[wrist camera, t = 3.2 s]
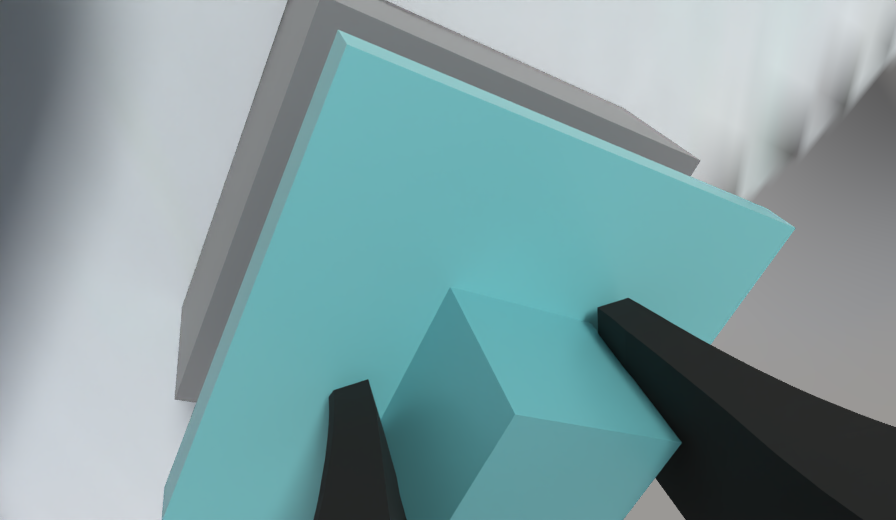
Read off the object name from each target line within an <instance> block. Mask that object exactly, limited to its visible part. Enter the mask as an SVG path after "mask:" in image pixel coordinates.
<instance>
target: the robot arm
mask: <svg viewBox="0 0 896 520" xmlns="http://www.w3.org/2000/svg"><path fill="white" fill-rule="evenodd" d="M597 313H598V334H599V336H600V337H601V338H602V340H603V341H604V342H605V344H606V345H607V346H608V347H609V349H610V350H611V351H612V353H613V354H614V355H615V357H616V358H617V359H618V361H619V362H620V363H621V365H622V366H623V367H624V369H625V370H626V371H627V372H628V373H629V374H630V376H631V377H632V378H633V379H634V380H635V382H636V383H637V384H638V386H639V387H640V388H641V389H642V391H643V392H644V393H645V395H646V396H647V397H648V399H649V400H650V401H651V403H652V404H653V405H654V407H655V408H656V409H657V411H658V412H659V413H660V414H661V416H662V417H663V418H664V420H665V421H666V422H667V424H668V425H669V426H670V428H671V429H672V430H673V432H674V433H675V434H676V436H677V437H678V438H679V439H680V441H681V442H682V443H681V445H680V446H679V447H678V449H677V450H676V451H675V453H674V454H673V455H672V456H671V458H670V459H669V460H668V462H667V463H666V464H665V466H664V467H663V468H662V470H661V471H660V472H659V473H658V475H657V476H656V477H655V478H656V479H657V481H658V482H659V484H660V485H661V486H662V488H663V489H664V490H665V492H666V493H667V495H668V496H669V497H670V499H671V500H672V501H673V503H674V504H675V505H676V507H677V508H678V510H679V511H680V513H681V514H682V515H683V517H684V518H685V519H686V520H896V427H894V426H891V425H888V424H885V423H882V422H879V421H876V420H874V419H871V418H868V417H865V416H863V415H860V414H858V413H855V412H853V411H850V410H848V409H845V408H843V407H840V406H837V405H835V404H833V403H830V402H828V401H825V400H823V399H820V398H818V397H816V396H813V395H811V394H809V393H806V392H804V391H802V390H800V389H797V388H795V387H793V386H791V385H789V384H787V383H785V382H782V381H780V380H778V379H776V378H774V377H772V376H770V375H768V374H766V373H764V372H762V371H760V370H758V369H755V368H754V367H752V366H750V365H747V364H746V363H744V362H742V361H740V360H738V359H736V358H734V357H732V356H730V355H729V354H727V353H725V352H723V351H721V350H719V349H717V348H716V347H714V346H712V345H710V344H708V343H706V342H705V341H703V340H701V339H699V338H698V337H696V336H694V335H692V334H691V333H689V332H687V331H685V330H684V329H682V328H680V327H678V326H677V325H675V324H673V323H671V322H670V321H668V320H666V319H665V318H663V317H661V316H659V315H658V314H656V313H654V312H653V311H651V310H649V309H647V308H646V307H644V306H642V305H641V304H639V303H637V302H635V301H633V300H632V299H630V298H626V299H622V300H619V301H616V302H613V303H610V304H606V305H603V306H600V307H597ZM313 520H407V519H406V515H405V512H404V508H403V504H402V501H401V497H400V493H399V487H398V481H397V476H396V472H395V469H394V465H393V462H392V458H391V455H390V451H389V447H388V444H387V440H386V437H385V433H384V430H383V426H382V423H381V420H380V416H379V413H378V410H377V407H376V403H375V400H374V397H373V393H372V390H371V387H370V383H369V380H368V379H367V380H364V381H361V382H358V383H355V384H351V385H348V386H345V387H342V388H339V389H335V390H333V392H332V393H331V394H330V396H329V425H328V437H327V446H326V454H325V462H324V467H323V473H322V479H321V485H320V491H319V497H318V502H317V507H316V511H315V515H314V519H313Z"/></svg>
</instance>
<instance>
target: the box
mask: <svg viewBox="0 0 896 520" xmlns="http://www.w3.org/2000/svg"><path fill="white" fill-rule="evenodd" d="M338 30H340V31H343V32H345V33H348V34H350V35H352V36H355V37H357V38H359V39H362V40H364V41H367V42H369V43H371V44H374V45H376V46H379V47H381V48H383V49H386V50H388V51H391V52H393V53H395V54H398V55H400V56H403V57H405V58H407V59H410V60H412V61H415V62H417V63H419V64H422V65H424V66H427V67H429V68H431V69H434V70H436V71H439V72H441V73H443V74H446V75H448V76H451V77H453V78H455V79H458V80H460V81H463V82H465V83H467V84H470V85H472V86H475V87H477V88H479V89H482V90H484V91H486V92H489V93H491V94H494V95H496V96H498V97H501V98H503V99H506V100H508V101H510V102H513V103H515V104H518V105H520V106H522V107H525V108H527V109H530V110H532V111H534V112H537V113H539V114H542V115H544V116H546V117H549V118H551V119H554V120H556V121H558V122H561V123H563V124H566V125H568V126H570V127H573V128H575V129H578V130H580V131H582V132H585V133H587V134H590V135H592V136H594V137H597V138H599V139H602V140H604V141H606V142H609V143H611V144H613V145H616V146H618V147H621V148H623V149H625V150H628V151H630V152H633V153H635V154H637V155H640V156H642V157H645V158H647V159H649V160H652V161H654V162H657V163H659V164H661V165H664V166H666V167H669V168H671V169H673V170H676V171H678V172H681V173H683V174H685V175H688V176H691V175H692V173H693V171H694V170H695V168H696V167H697V165H698V164H699V162H700V160H699V159H697V158H696V157H695V156H693V155H692V154H690V153H689V152H687V151H686V150H684V149H683V148H681V147H680V146H678V145H677V144H675V143H674V142H673V141H671V140H670V139H668V138H667V137H665V136H664V135H662V134H661V133H659V132H658V131H656V130H655V129H654V128H652V127H651V126H649V125H648V124H646V123H645V122H643V121H642V120H640V119H639V118H637V117H636V116H634V115H633V114H632V113H630V112H629V111H627V110H626V109H624V108H622V107H619V106H617V105H615V104H613V103H611V102H608V101H606V100H604V99H602V98H600V97H597V96H595V95H593V94H591V93H589V92H586V91H584V90H582V89H580V88H578V87H575V86H573V85H571V84H569V83H566V82H564V81H562V80H560V79H558V78H555V77H553V76H551V75H549V74H547V73H544V72H542V71H540V70H538V69H536V68H533V67H531V66H529V65H527V64H525V63H522V62H520V61H518V60H516V59H514V58H511V57H509V56H507V55H505V54H503V53H500V52H498V51H496V50H494V49H492V48H489V47H487V46H485V45H483V44H480V43H478V42H476V41H474V40H472V39H469V38H467V37H465V36H463V35H461V34H458V33H456V32H454V31H452V30H450V29H447V28H445V27H443V26H441V25H439V24H436V23H434V22H432V21H430V20H428V19H425V18H423V17H421V16H419V15H417V14H414V13H412V12H410V11H408V10H406V9H403V8H401V7H399V6H397V5H394V4H392V3H390V2H388V1H386V0H288V1H287V4H286V7H285V10H284V13H283V16H282V19H281V22H280V25H279V27H278V30H277V33H276V36H275V39H274V42H273V45H272V48H271V51H270V54H269V57H268V59H267V62H266V65H265V68H264V71H263V74H262V77H261V80H260V83H259V86H258V88H257V91H256V94H255V97H254V100H253V103H252V106H251V109H250V112H249V115H248V117H247V120H246V123H245V126H244V129H243V132H242V135H241V138H240V141H239V144H238V146H237V149H236V152H235V155H234V158H233V161H232V164H231V167H230V170H229V173H228V176H227V178H226V181H225V184H224V187H223V190H222V193H221V196H220V199H219V202H218V205H217V207H216V210H215V213H214V216H213V219H212V222H211V225H210V228H209V231H208V234H207V236H206V239H205V242H204V245H203V248H202V251H201V254H200V257H199V260H198V263H197V266H196V268H195V271H194V274H193V277H192V280H191V283H190V286H189V289H188V292H187V295H186V297H185V300H184V303H183V306H182V315H181V327H180V340H179V352H178V365H177V377H176V390H175V400H182V401H189V402H196V403H197V400H198V398H199V395H200V392H201V390H202V387H203V384H204V382H205V379H206V376H207V374H208V371H209V369H210V366H211V363H212V361H213V358H214V355H215V353H216V350H217V347H218V345H219V342H220V339H221V337H222V334H223V332H224V329H225V326H226V324H227V321H228V318H229V316H230V313H231V310H232V308H233V305H234V303H235V300H236V297H237V295H238V292H239V289H240V287H241V284H242V281H243V279H244V276H245V273H246V271H247V268H248V266H249V263H250V260H251V258H252V255H253V252H254V250H255V247H256V244H257V242H258V239H259V237H260V234H261V231H262V229H263V226H264V223H265V221H266V218H267V215H268V213H269V210H270V208H271V205H272V202H273V200H274V197H275V194H276V192H277V189H278V186H279V184H280V181H281V178H282V176H283V173H284V171H285V168H286V165H287V163H288V160H289V157H290V155H291V152H292V149H293V147H294V144H295V142H296V139H297V136H298V134H299V131H300V128H301V126H302V123H303V120H304V118H305V115H306V112H307V110H308V107H309V105H310V102H311V99H312V97H313V94H314V91H315V89H316V86H317V83H318V81H319V78H320V76H321V73H322V70H323V68H324V65H325V62H326V60H327V57H328V54H329V52H330V49H331V46H332V44H333V41H334V39H335V36H336V33H337V31H338Z"/></svg>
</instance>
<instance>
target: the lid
mask: <svg viewBox="0 0 896 520" xmlns="http://www.w3.org/2000/svg"><path fill="white" fill-rule="evenodd" d="M794 230H795V227H793V226H792V225H790V224H789V223H787V222H786V221H785V220H783V219H782V218H780V217H779V216H777V215H776V214H774V213H773V212H771V211H770V210H768V209H767V208H764V207H762V206H760V205H757V204H755V203H752V202H750V201H748V200H745V199H743V198H740V197H738V196H736V195H733V194H731V193H729V192H726V191H724V190H721V189H719V188H717V187H714V186H712V185H709V184H707V183H705V182H702V181H700V180H697V179H695V178H693V177H690V176H688V175H685V174H683V173H681V172H678V171H676V170H673V169H671V168H669V167H666V166H664V165H661V164H659V163H657V162H654V161H652V160H649V159H647V158H645V157H642V156H640V155H637V154H635V153H633V152H630V151H628V150H625V149H623V148H621V147H618V146H616V145H613V144H611V143H609V142H606V141H604V140H602V139H599V138H597V137H594V136H592V135H590V134H587V133H585V132H582V131H580V130H578V129H575V128H573V127H570V126H568V125H566V124H563V123H561V122H558V121H556V120H554V119H551V118H549V117H546V116H544V115H542V114H539V113H537V112H534V111H532V110H530V109H527V108H525V107H522V106H520V105H518V104H515V103H513V102H510V101H508V100H506V99H503V98H501V97H498V96H496V95H494V94H491V93H489V92H486V91H484V90H482V89H479V88H477V87H475V86H472V85H470V84H467V83H465V82H463V81H460V80H458V79H455V78H453V77H451V76H448V75H446V74H443V73H441V72H439V71H436V70H434V69H431V68H429V67H427V66H424V65H422V64H419V63H417V62H415V61H412V60H410V59H407V58H405V57H403V56H400V55H398V54H395V53H393V52H391V51H388V50H386V49H383V48H381V47H379V46H376V45H374V44H371V43H369V42H367V41H364V40H362V39H359V38H357V37H355V36H352V35H350V34H348V33H345V32H343V31H340V30H338V31H337V33H336V36H335V39H334V41H333V44H332V46H331V49H330V52H329V54H328V57H327V60H326V62H325V65H324V68H323V70H322V73H321V76H320V78H319V81H318V83H317V86H316V89H315V91H314V94H313V97H312V99H311V102H310V105H309V107H308V110H307V112H306V115H305V118H304V120H303V123H302V126H301V128H300V131H299V134H298V136H297V139H296V142H295V144H294V147H293V149H292V152H291V155H290V157H289V160H288V163H287V165H286V168H285V171H284V173H283V176H282V178H281V181H280V184H279V186H278V189H277V192H276V194H275V197H274V200H273V202H272V205H271V208H270V210H269V213H268V215H267V218H266V221H265V223H264V226H263V229H262V231H261V234H260V237H259V239H258V242H257V244H256V247H255V250H254V252H253V255H252V258H251V260H250V263H249V266H248V268H247V271H246V273H245V276H244V279H243V281H242V284H241V287H240V289H239V292H238V295H237V297H236V300H235V303H234V305H233V308H232V310H231V313H230V316H229V318H228V321H227V324H226V326H225V329H224V332H223V334H222V337H221V339H220V342H219V345H218V347H217V350H216V353H215V355H214V358H213V361H212V363H211V366H210V369H209V371H208V374H207V376H206V379H205V382H204V384H203V387H202V390H201V392H200V395H199V398H198V400H197V403H196V405H195V408H194V411H193V413H192V416H191V419H190V421H189V424H188V427H187V429H186V432H185V435H184V437H183V440H182V442H181V445H180V448H179V450H178V453H177V456H176V458H175V461H174V464H173V466H172V469H171V471H170V474H169V477H168V479H167V482H166V485H165V487H164V499H163V511H162V520H313V519H314V515H315V511H316V507H317V502H318V497H319V491H320V485H321V479H322V473H323V467H324V462H325V454H326V446H327V437H328V425H329V396H330V394H331V393H332V392H333V390H335V389H339V388H342V387H345V386H348V385H351V384H355V383H358V382H361V381H364V380H367V379H368V380H369V383H370V387H371V390H372V393H373V397H374V400H375V403H376V407H377V410H378V413H379V416H380V420H381V423H382V426H383V430H384V433H385V437H386V440H387V444H388V447H389V451H390V455H391V458H392V462H393V465H394V469H395V472H396V476H397V481H398V487H399V493H400V497H401V501H402V504H403V508H404V512H405V515H406V519H407V520H623V519H624V518H625V517H626V515H627V514H628V513H629V511H630V510H631V509H632V508H633V506H634V505H635V504H636V502H637V501H638V500H639V498H640V497H641V496H642V494H643V493H644V492H645V491H646V489H647V488H648V487H649V485H650V484H651V483H652V481H653V480H654V479H655V477H656V476H657V475H658V473H659V472H660V471H661V470H662V468H663V467H664V466H665V464H666V463H667V462H668V460H669V459H670V458H671V456H672V455H673V454H674V453H675V451H676V450H677V449H678V447H679V446H680V445H681V443H682V442H681V441H680V439H679V438H678V437H677V436H676V434H675V433H674V432H673V430H672V429H671V428H670V426H669V425H668V424H667V422H666V421H665V420H664V418H663V417H662V416H661V414H660V413H659V412H658V411H657V409H656V408H655V407H654V405H653V404H652V403H651V401H650V400H649V399H648V397H647V396H646V395H645V393H644V392H643V391H642V389H641V388H640V387H639V386H638V384H637V383H636V382H635V380H634V379H633V378H632V377H631V376H630V374H629V373H628V372H627V371H626V370H625V369H624V367H623V366H622V365H621V363H620V362H619V361H618V359H617V358H616V357H615V355H614V354H613V353H612V351H611V350H610V349H609V347H608V346H607V345H606V344H605V342H604V341H603V340H602V338H601V337H600V336H599V334H598V313H597V307H600V306H603V305H606V304H610V303H613V302H616V301H619V300H622V299H626V298H630V299H632V300H633V301H635V302H637V303H639V304H641V305H642V306H644V307H646V308H647V309H649V310H651V311H653V312H654V313H656V314H658V315H659V316H661V317H663V318H665V319H666V320H668V321H670V322H671V323H673V324H675V325H677V326H678V327H680V328H682V329H684V330H685V331H687V332H689V333H691V334H692V335H694V336H696V337H698V338H699V339H701V340H703V341H705V342H706V343H708V344H710V345H711V343H712V342H713V341H714V339H715V338H716V336H717V335H718V333H719V332H720V331H721V330H722V328H723V327H724V326H725V324H726V323H727V321H728V320H729V319H730V317H731V316H732V315H733V313H734V312H735V310H736V309H737V308H738V306H739V305H740V304H741V302H742V301H743V300H744V298H745V297H746V295H747V294H748V293H749V291H750V290H751V289H752V287H753V286H754V284H755V283H756V282H757V280H758V279H759V278H760V276H761V275H762V273H763V272H764V271H765V269H766V268H767V267H768V265H769V264H770V263H771V261H772V260H773V258H774V257H775V256H776V254H777V253H778V252H779V250H780V249H781V247H782V246H783V245H784V243H785V242H786V241H787V239H788V238H789V237H790V235H791V234H792V232H793V231H794Z"/></svg>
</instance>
